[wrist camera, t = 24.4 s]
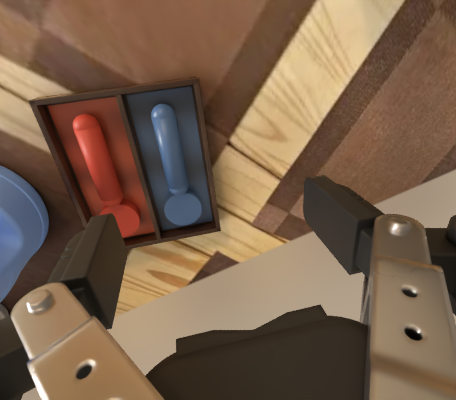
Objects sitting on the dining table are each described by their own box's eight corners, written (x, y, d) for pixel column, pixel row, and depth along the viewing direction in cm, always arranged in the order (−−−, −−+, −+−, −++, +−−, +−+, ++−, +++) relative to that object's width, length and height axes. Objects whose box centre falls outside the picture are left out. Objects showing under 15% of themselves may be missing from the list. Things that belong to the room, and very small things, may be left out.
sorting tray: (38, 97, 31) (27, 100, 28) (196, 76, 33) (198, 78, 30) (100, 244, 41) (96, 255, 39) (218, 221, 43) (220, 230, 41)
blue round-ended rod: (139, 105, 32) (136, 109, 30) (182, 99, 33) (183, 102, 30) (168, 222, 40) (168, 232, 38) (203, 215, 41) (205, 225, 38)
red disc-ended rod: (62, 115, 31) (53, 120, 29) (108, 108, 32) (103, 113, 29) (108, 233, 39) (104, 244, 37) (144, 226, 40) (143, 237, 37)
